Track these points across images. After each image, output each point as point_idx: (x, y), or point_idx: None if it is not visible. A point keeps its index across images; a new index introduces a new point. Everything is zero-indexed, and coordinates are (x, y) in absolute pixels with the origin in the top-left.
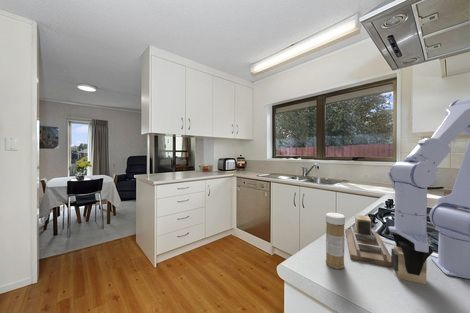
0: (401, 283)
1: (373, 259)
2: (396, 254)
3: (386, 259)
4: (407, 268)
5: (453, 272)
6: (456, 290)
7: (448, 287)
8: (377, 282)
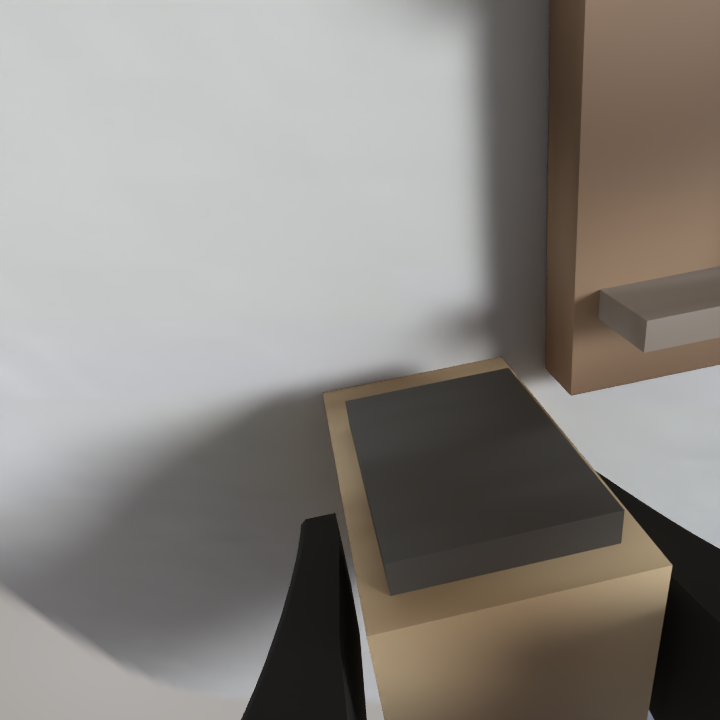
0: (229, 412)
1: (574, 161)
2: (387, 576)
3: (606, 320)
4: (299, 560)
5: None
6: None
7: None
8: (51, 200)
